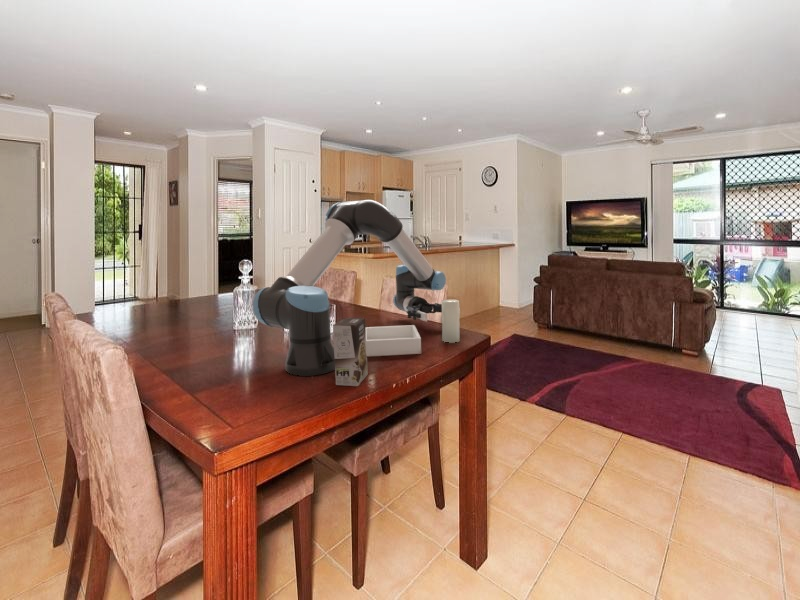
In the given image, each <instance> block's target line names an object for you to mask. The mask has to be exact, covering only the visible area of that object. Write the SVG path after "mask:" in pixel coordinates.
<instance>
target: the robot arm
mask: <svg viewBox="0 0 800 600" xmlns="http://www.w3.org/2000/svg"><path fill="white" fill-rule="evenodd" d="M325 215H326V217H325V222H324V230H323V231H322V233H320V235H319V236H318V238H316V240H314V242H313V243H312V245H311V246H310V247H309V248H308V249H307V251H306V252H305V253H304V254H303V255H302V256H301V258H300V259H299V260H298V261H297V263H296V264H295V265H294V266H293V267H292V269H291V270H290V271H289V272H288V273H287V275H286V276H279V277H278V278H277V279H276V280H275V281H274V283H273V284H272V285H271V286H268V287H267V286H265V287H263V288H261V289H260V290H258V291H257V292H256V294H255V295H254V297H253V299H252V312H253V315H254V317H255V318H256V319H257V321H258V322H260V323H261V324H263V325H265V326H268V327H272V328H274V327H275V328H280V329H285V330H288V333H289V334H288V335H289V346H288V350H287V355H286V359H285V363H284V365H285V372H286V371H287V372H288V374H289V373H290V374H289V375H292V374H293V375H292V376H297V375H299V377H311V376H318V375H324V374H327V373H330V372H333V371H335V358H334V343H333V342H332V337H331V333H332V332H331V315H330V312H331V311H330V301H329V295H328V292H327V291H326V290H325V289H323V288H321V287H318V286H315V285H316V284H317V282H318V281H319V280H320V279H321V277H322V276H323V275H324V273H325V272H326V271H327V270H328V269H329V266H331V264H332V263H333V261H334V260H335V259H336V258H337V256H338V255H339V254H340V253H341V251H342V250H343V248H345V246H350V245H352V244H353V243H354V242H355V240H356V239H357V238H358V236H360V235H368V236H369V235H371V236H374V237H376V238H378V240H380V242H382V243H385V244H387V246H388V247H389V248H390V249H391V250H392V252H393V253H394V254H395V255H396V256H397V258H398V259H399V260H400V261H401V262H402V263H403V264H399V265H397V266H396V268H395V285H396V287H395V288H396V292H395V295H394V296H393V299H392V303H393V306H394V307H395V308H396V309H398V310H399V311H402V312H406V314H407V318H408V319H411V318H412V320H413V321H416V320H417V319H418V320H420V321H423V322H428V314H435V313H442V303H439V302H438V303H437V302H435V303H431V302H430V303H429V302H428V301H427V300H426V298H423V297H419V296H417V295H415V289H418V290H427V291H428V290H429V291H441V290H443V289H444V288H445V285H446V282H447V281H446V280H447V279H446V274H445V273H444V272H442V271H439V270H435V269H434V267H433V266H432V265H431V264H430V263H429V261H428V260H427V258H426V257H425V256H424V255H423V254H422V252H421V251H420V250H419V248H418V247H417V246H416V245H415V243H414V242H413V241H412V239H411V238H410V237H409V235H408V234H407V233H406V232H405V230H404V228H403V227H404V226H403V223H402V222H401V219H399V218H398V216H397V215H396V214H395V213H394V212H393V211H392V210H390V208H388V207H386V206H385V205H384V204H382V203H380V202H378V201H376V200H372V199H364V200H363V199H361V200H349V201H348V200H342V201H340V202H339V201H338V202H335V203H334V204H332V205H331V206H330V207H329V208H328V210H327V212H326V214H325ZM459 318H461V309H460V308H459Z"/></svg>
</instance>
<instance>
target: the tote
mask: <svg viewBox="0 0 800 600" xmlns="http://www.w3.org/2000/svg"><path fill="white" fill-rule="evenodd" d="M365 327H366V326H365ZM366 349H367V357H381V356H400V355H401V356H402V355H416V354H417V355H419V354H422V337H421V335H420V333H419V332H418V329H417V327H416V325H415V324H411V325H409V324H408V325H406V324H405V325H388V326H387V325H386V326H369V327H368V326H367V327H366Z"/></svg>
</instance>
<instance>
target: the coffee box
mask: <svg viewBox="0 0 800 600" xmlns="http://www.w3.org/2000/svg"><path fill="white" fill-rule="evenodd" d="M332 331H333V332H332V336H333V338H332V339H333V347H334V358H335V370H334V374H335V375H334V376H335V377H334V378H335V386H346V387H347V386H349V387H358V386H360V385H361V383H362V382H363V381H364V380H365V378H366V377H367V376H368V356H367V349H366V317H344V318H342V319H339V321H337V322H336V323H334V324H333V325H332Z"/></svg>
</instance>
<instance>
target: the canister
mask: <svg viewBox="0 0 800 600" xmlns="http://www.w3.org/2000/svg"><path fill="white" fill-rule="evenodd" d="M441 304H442V312H441V341H442V342H443V341H444V342H443V343H445V342H449V343H448V344H456V343H455V342H457V343H459V342H461V341H460V340H461V339H460V317H459V309H460V300H458V299H443V300H441Z"/></svg>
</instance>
